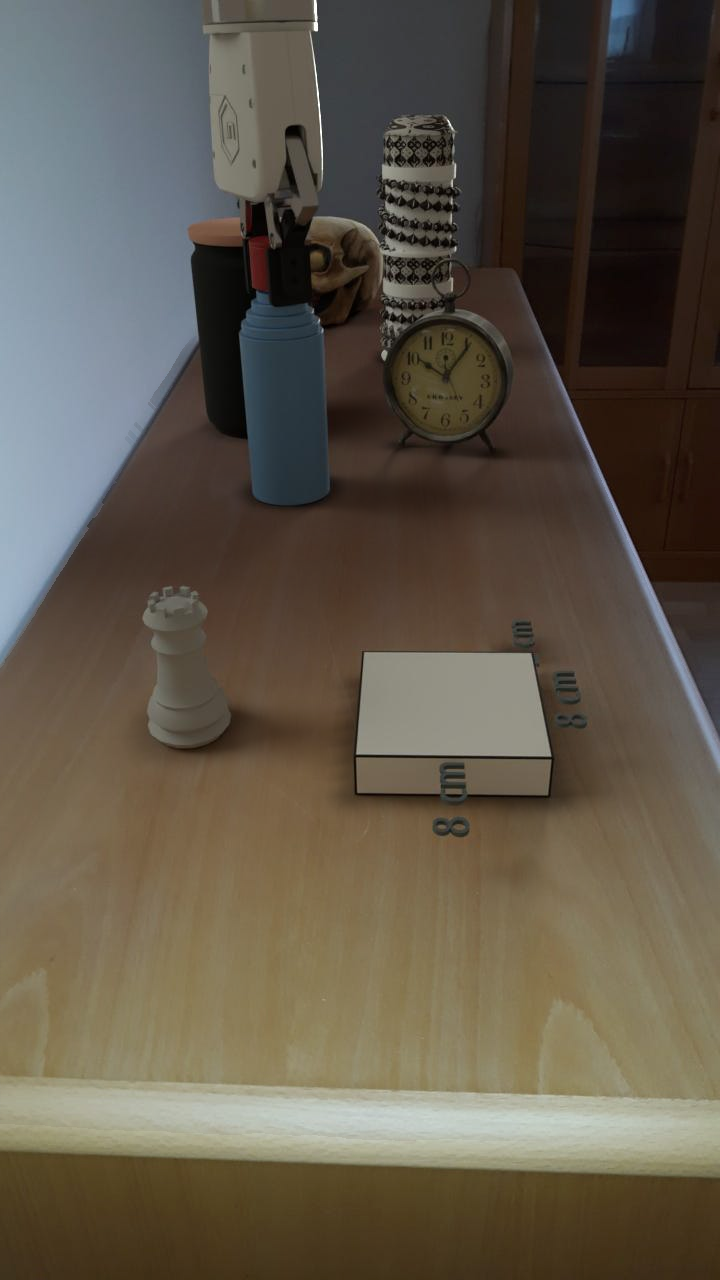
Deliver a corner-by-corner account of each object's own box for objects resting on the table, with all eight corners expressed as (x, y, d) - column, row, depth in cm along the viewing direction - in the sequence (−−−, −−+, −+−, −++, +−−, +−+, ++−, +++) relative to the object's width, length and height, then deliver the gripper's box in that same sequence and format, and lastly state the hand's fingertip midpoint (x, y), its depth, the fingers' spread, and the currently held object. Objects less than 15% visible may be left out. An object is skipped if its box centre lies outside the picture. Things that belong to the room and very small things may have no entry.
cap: (313, 287, 72) (310, 240, 70) (263, 293, 71) (259, 245, 69) (293, 278, 75) (290, 232, 74) (244, 283, 74) (241, 237, 72)
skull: (258, 329, 127) (256, 217, 122) (275, 313, 143) (273, 213, 137) (379, 333, 127) (382, 220, 121) (382, 316, 142) (385, 216, 137)
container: (366, 637, 61) (365, 599, 59) (552, 638, 60) (556, 600, 59) (348, 873, 44) (346, 828, 42) (609, 878, 43) (616, 832, 42)
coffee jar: (274, 398, 103) (262, 212, 94) (338, 422, 96) (332, 224, 86) (186, 421, 97) (164, 226, 88) (248, 449, 90) (231, 239, 81)
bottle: (244, 504, 79) (222, 254, 69) (261, 475, 85) (242, 239, 75) (323, 506, 78) (311, 254, 69) (335, 476, 84) (326, 239, 74)
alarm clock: (382, 451, 89) (380, 261, 80) (397, 431, 93) (397, 250, 85) (502, 461, 86) (513, 266, 78) (512, 440, 90) (524, 254, 82)
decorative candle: (361, 356, 116) (356, 117, 103) (417, 342, 121) (419, 112, 108) (415, 372, 110) (418, 119, 97) (472, 356, 115) (481, 114, 102)
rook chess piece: (131, 735, 53) (108, 605, 49) (188, 695, 56) (170, 569, 52) (193, 762, 51) (175, 628, 46) (248, 719, 54) (236, 590, 50)
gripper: (166, 13, 69) (196, 284, 79) (249, 2, 56) (273, 328, 66) (266, 11, 72) (283, 274, 81) (367, 0, 59) (373, 314, 68)
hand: (279, 295), depth 73 cm, fingers closed on cap, 3 cm apart
